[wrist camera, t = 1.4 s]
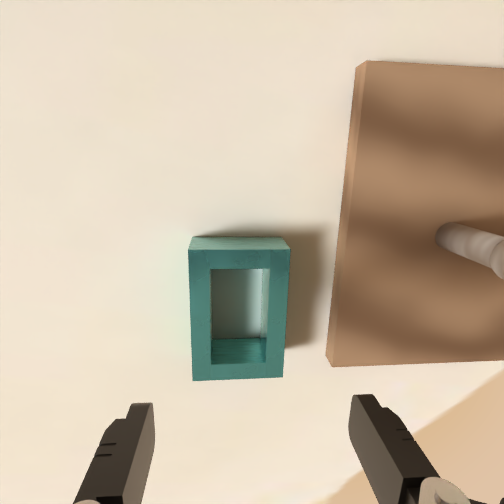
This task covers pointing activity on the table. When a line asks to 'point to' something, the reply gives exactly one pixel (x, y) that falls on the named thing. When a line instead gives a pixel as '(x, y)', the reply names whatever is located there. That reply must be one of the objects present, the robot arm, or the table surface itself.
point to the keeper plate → (421, 218)
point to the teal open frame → (272, 309)
